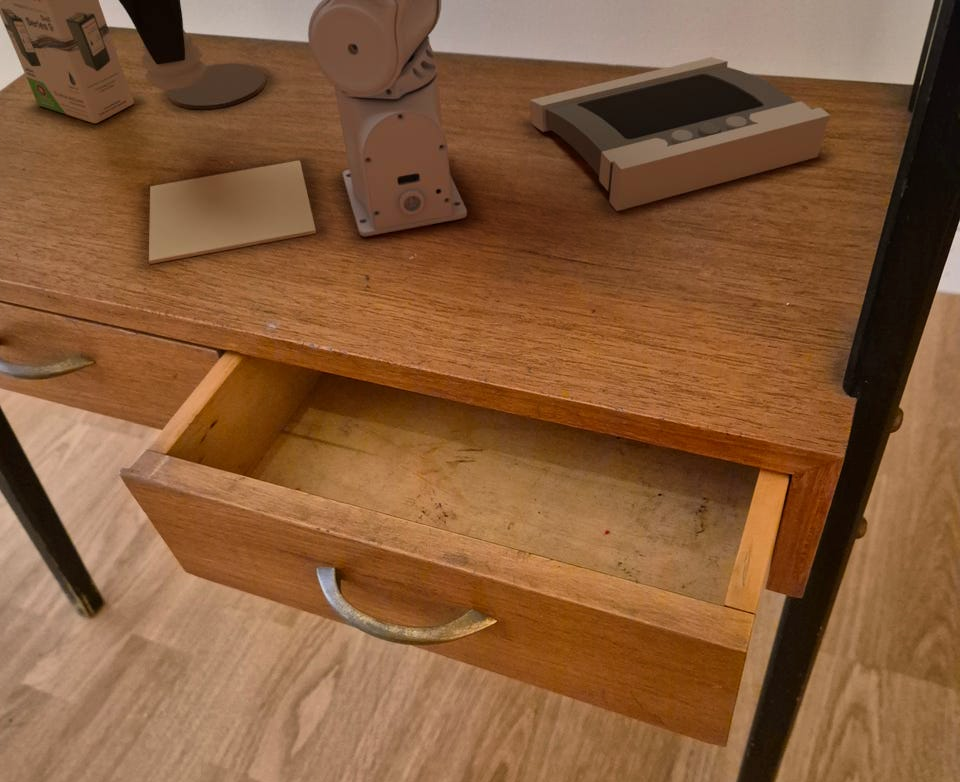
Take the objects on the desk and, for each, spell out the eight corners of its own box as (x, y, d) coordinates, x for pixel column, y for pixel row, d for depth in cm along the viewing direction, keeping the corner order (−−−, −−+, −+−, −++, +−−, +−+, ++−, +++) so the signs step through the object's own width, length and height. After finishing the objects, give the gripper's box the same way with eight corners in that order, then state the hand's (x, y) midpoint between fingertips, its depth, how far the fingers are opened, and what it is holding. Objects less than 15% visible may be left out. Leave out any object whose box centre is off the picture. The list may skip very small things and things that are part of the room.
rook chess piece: (193, 92, 63) (157, -31, 57) (137, 90, 64) (95, -31, 58) (217, 66, 66) (185, -54, 60) (163, 64, 67) (125, -54, 61)
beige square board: (316, 233, 64) (315, 229, 64) (150, 264, 62) (148, 260, 62) (300, 163, 71) (299, 160, 71) (151, 189, 70) (150, 186, 70)
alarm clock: (621, 169, 61) (528, 64, 70) (615, 225, 65) (527, 119, 74) (830, 115, 64) (714, 22, 74) (813, 171, 68) (704, 76, 78)
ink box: (35, 106, 82) (-26, -34, 73) (77, 85, 84) (23, -52, 76) (95, 125, 78) (39, -19, 70) (138, 103, 81) (88, -39, 72)
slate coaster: (269, 100, 80) (268, 95, 79) (169, 116, 79) (167, 112, 78) (261, 61, 86) (260, 57, 85) (168, 76, 85) (167, 72, 84)
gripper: (41, -196, 58) (116, 22, 68) (19, -146, 48) (111, 100, 58) (149, -209, 58) (207, 8, 69) (150, -162, 49) (217, 83, 59)
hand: (170, 49), depth 63 cm, fingers closed on rook chess piece, 3 cm apart
